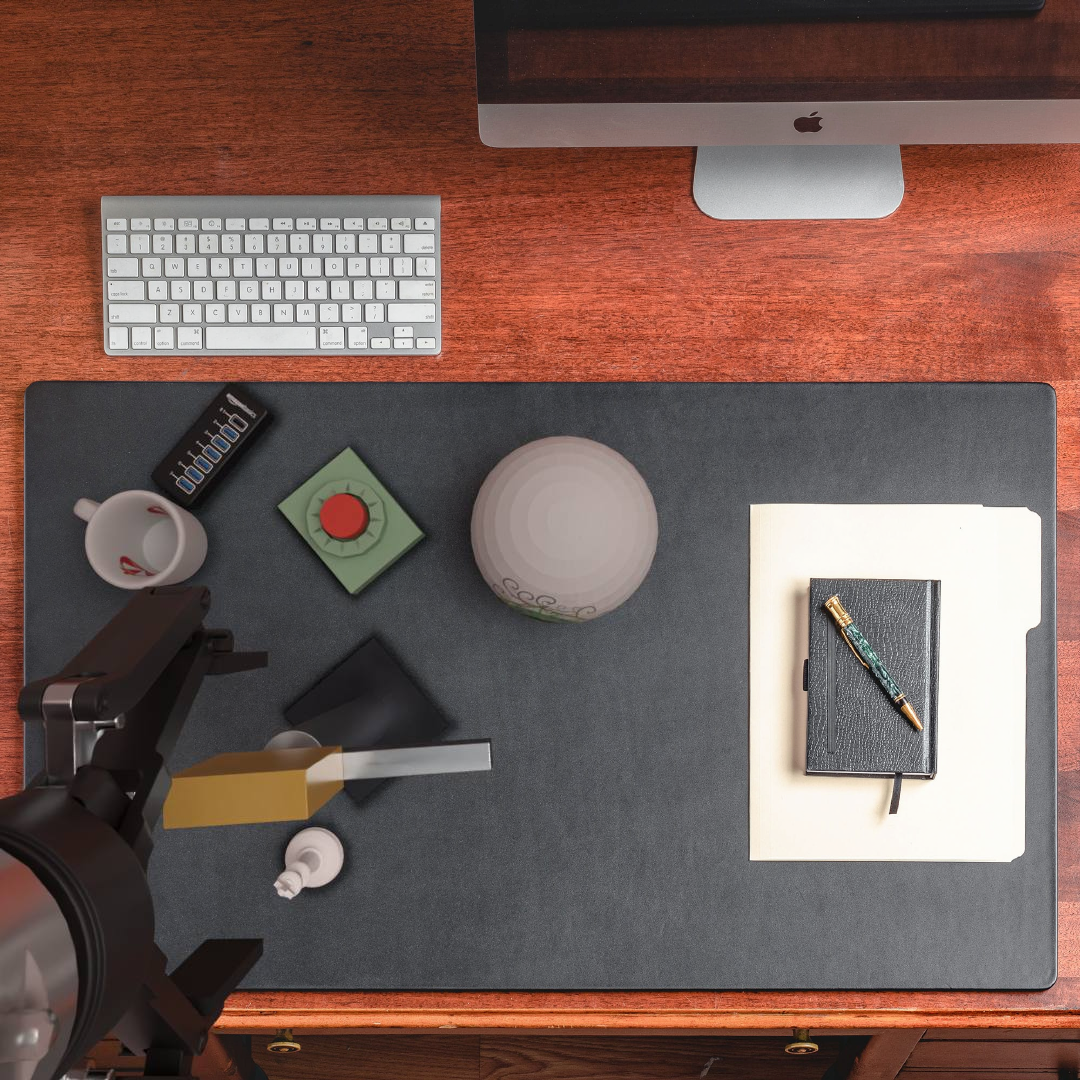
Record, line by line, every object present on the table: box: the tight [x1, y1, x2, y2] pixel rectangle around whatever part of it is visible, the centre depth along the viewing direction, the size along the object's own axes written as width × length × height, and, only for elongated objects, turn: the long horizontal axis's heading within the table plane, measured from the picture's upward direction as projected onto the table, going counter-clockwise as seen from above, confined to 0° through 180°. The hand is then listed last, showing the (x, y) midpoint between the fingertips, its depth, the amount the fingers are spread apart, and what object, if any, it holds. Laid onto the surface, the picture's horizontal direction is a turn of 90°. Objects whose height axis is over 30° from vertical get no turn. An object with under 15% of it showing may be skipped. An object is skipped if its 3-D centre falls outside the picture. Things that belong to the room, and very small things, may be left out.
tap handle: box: [162, 737, 494, 830], centre depth 48 cm, size 16×2×10 cm, turn 94°
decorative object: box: [470, 435, 659, 625], centre depth 71 cm, size 15×15×15 cm
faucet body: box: [262, 636, 450, 805], centre depth 65 cm, size 10×10×24 cm
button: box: [320, 494, 367, 539], centre depth 74 cm, size 4×4×2 cm
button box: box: [277, 446, 426, 595], centre depth 76 cm, size 10×8×4 cm
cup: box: [73, 489, 209, 590], centre depth 74 cm, size 11×8×8 cm
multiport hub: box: [150, 381, 276, 510], centre depth 78 cm, size 4×11×2 cm, turn 141°
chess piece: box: [273, 826, 344, 900], centre depth 71 cm, size 5×5×10 cm
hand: (238, 800), depth 43 cm, fingers open, 13 cm apart
